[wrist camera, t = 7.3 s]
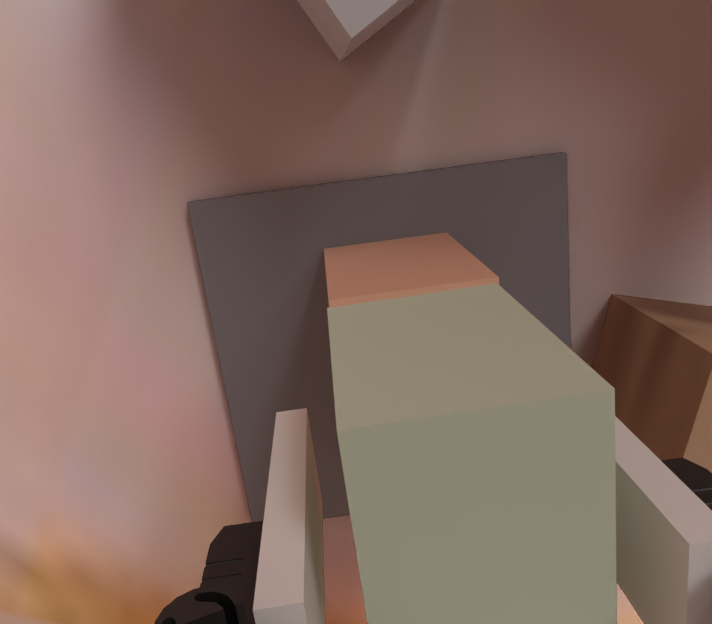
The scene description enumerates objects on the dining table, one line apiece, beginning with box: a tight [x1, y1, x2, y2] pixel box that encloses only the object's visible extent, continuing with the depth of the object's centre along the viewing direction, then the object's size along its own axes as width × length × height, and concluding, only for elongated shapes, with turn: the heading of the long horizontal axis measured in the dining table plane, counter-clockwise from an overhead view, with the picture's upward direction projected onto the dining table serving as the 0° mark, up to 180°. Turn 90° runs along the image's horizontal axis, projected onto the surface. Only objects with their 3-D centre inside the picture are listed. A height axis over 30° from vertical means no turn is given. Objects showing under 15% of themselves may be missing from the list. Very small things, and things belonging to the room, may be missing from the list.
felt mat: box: [187, 152, 571, 522], centre depth 22 cm, size 12×12×1 cm
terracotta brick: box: [324, 232, 499, 308], centre depth 19 cm, size 8×4×6 cm, turn 7°
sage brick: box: [327, 283, 617, 624], centre depth 13 cm, size 8×4×6 cm, turn 8°
